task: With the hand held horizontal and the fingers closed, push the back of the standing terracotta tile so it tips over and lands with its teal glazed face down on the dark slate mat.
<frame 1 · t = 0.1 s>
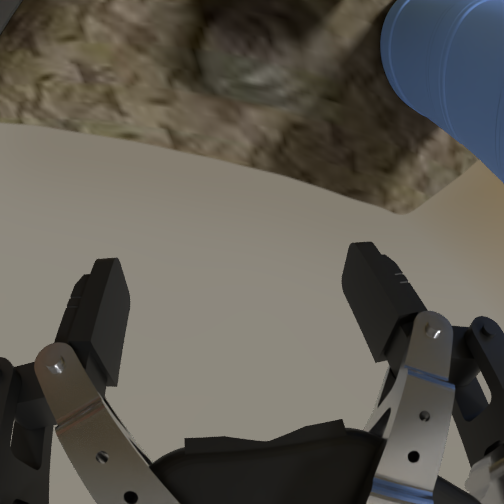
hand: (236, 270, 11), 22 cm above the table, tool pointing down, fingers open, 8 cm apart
water jug: (435, 50, 24), on the table
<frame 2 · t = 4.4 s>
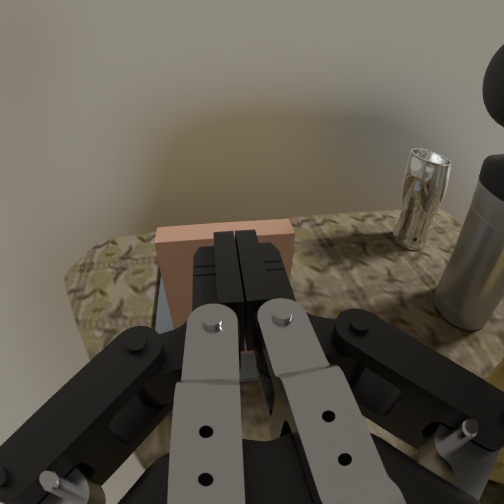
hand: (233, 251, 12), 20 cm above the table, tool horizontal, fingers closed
beer glass: (408, 240, 48), on the table
mat: (226, 308, 36), on the table
cheese: (496, 440, 20), on the table
tile: (230, 346, 31), point 1 cm above the table, touching mat
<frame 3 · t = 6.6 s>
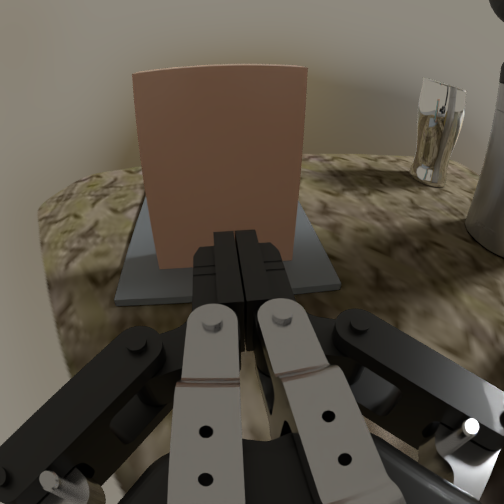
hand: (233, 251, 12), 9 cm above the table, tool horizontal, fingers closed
beer glass: (426, 179, 42), on the table
mat: (221, 223, 30), on the table
tile: (225, 256, 24), point 1 cm above the table, touching mat
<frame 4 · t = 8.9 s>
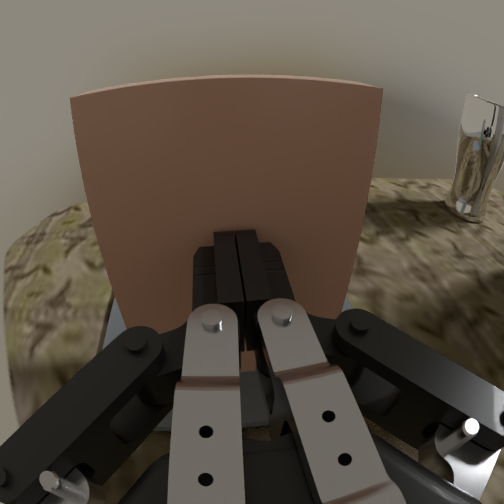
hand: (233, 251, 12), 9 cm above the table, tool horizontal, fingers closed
beer glass: (463, 212, 34), on the table
mat: (227, 293, 22), on the table
tile: (235, 357, 17), point 1 cm above the table, touching gripper, mat
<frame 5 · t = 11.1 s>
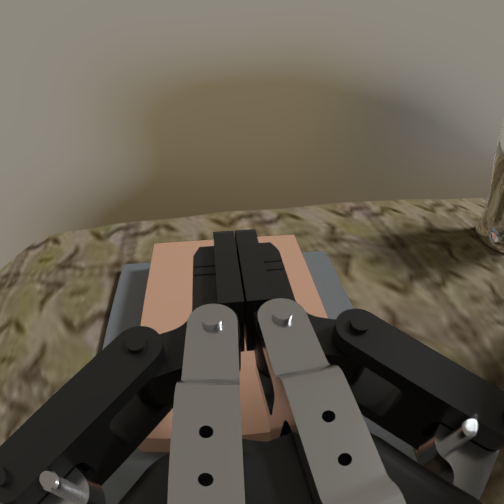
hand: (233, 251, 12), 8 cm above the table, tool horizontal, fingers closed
beer glass: (494, 240, 29), on the table
mat: (237, 375, 17), on the table
tile: (248, 441, 12), point 2 cm above the table, tilted 90°, touching mat
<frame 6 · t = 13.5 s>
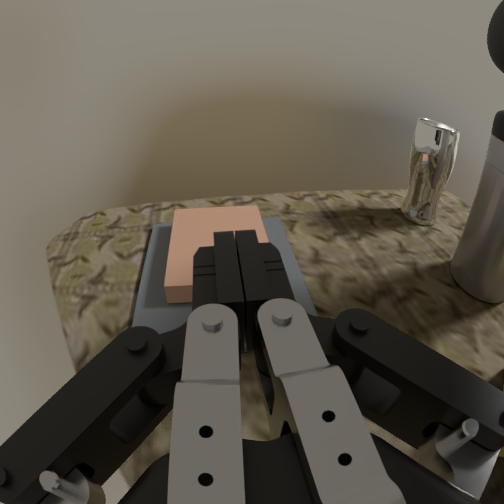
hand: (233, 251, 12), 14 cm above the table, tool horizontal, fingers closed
beer glass: (417, 217, 45), on the table
mat: (220, 274, 32), on the table
tile: (222, 292, 27), point 2 cm above the table, tilted 90°, touching mat
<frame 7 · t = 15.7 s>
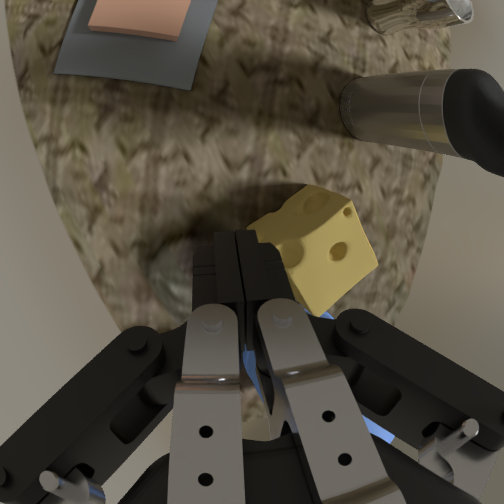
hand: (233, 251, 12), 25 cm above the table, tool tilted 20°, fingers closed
beer glass: (380, 17, 34), on the table
mat: (145, 2, 25), on the table
cheese: (295, 232, 42), on the table
tile: (132, 32, 25), point 2 cm above the table, tilted 90°, touching mat
water jug: (288, 342, 49), on the table
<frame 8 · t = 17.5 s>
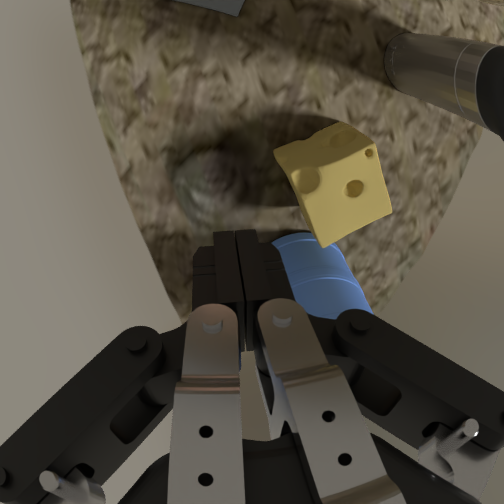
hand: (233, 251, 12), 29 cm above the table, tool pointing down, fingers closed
cheese: (321, 164, 41), on the table
water jug: (295, 269, 52), on the table
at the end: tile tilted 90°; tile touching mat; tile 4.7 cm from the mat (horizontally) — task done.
